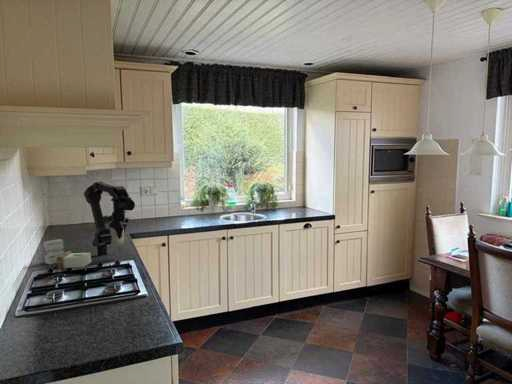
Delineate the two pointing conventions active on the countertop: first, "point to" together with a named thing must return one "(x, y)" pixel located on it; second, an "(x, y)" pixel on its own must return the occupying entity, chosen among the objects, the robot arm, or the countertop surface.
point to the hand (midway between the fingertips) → (120, 238)
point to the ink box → (53, 250)
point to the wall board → (60, 259)
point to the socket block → (76, 260)
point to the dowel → (121, 238)
